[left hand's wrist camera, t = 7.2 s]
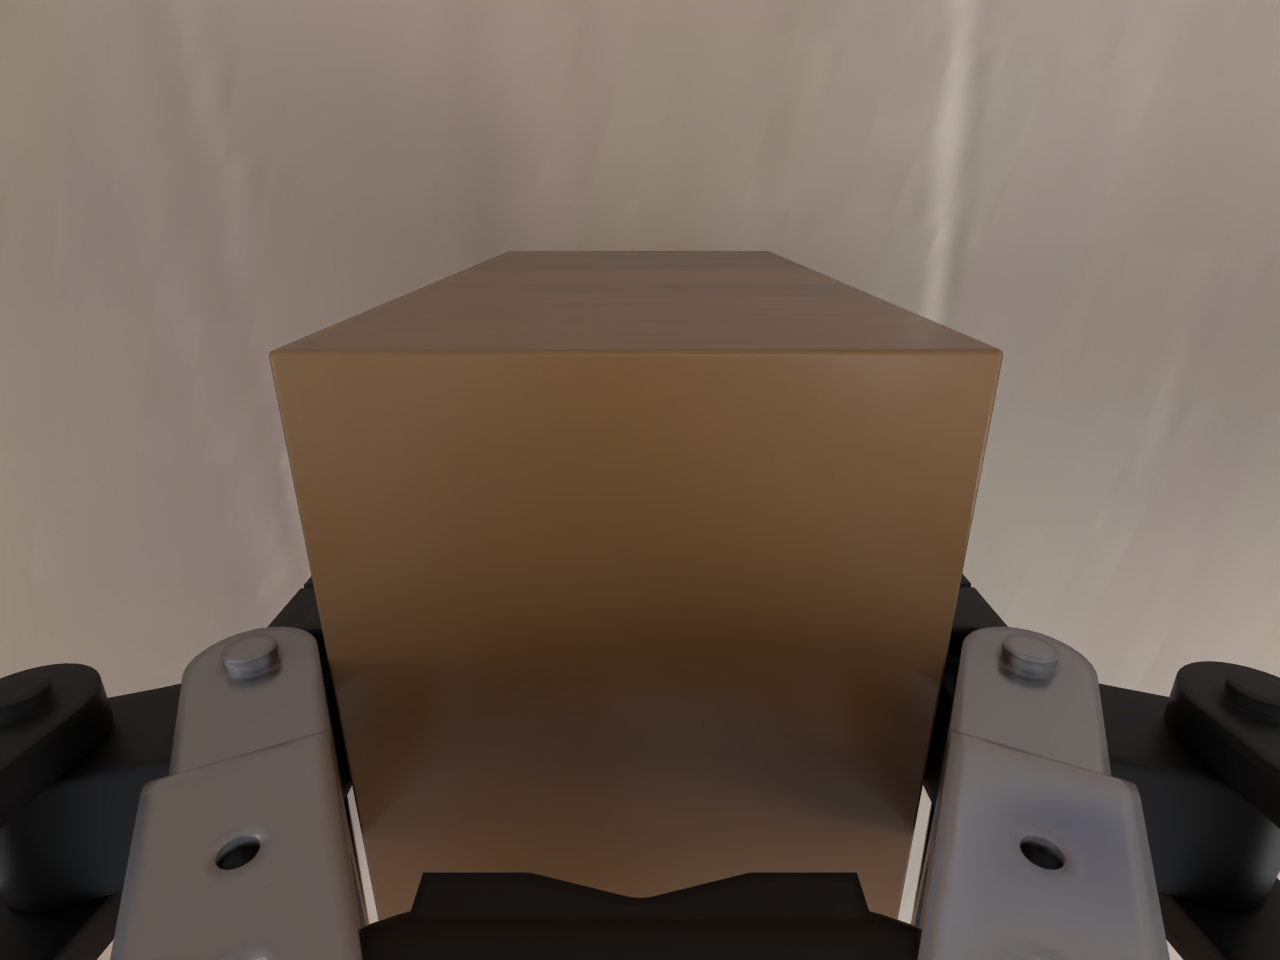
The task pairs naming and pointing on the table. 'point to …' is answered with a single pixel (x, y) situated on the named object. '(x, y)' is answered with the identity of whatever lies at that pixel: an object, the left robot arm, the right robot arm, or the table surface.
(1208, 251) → the table surface
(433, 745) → the box
